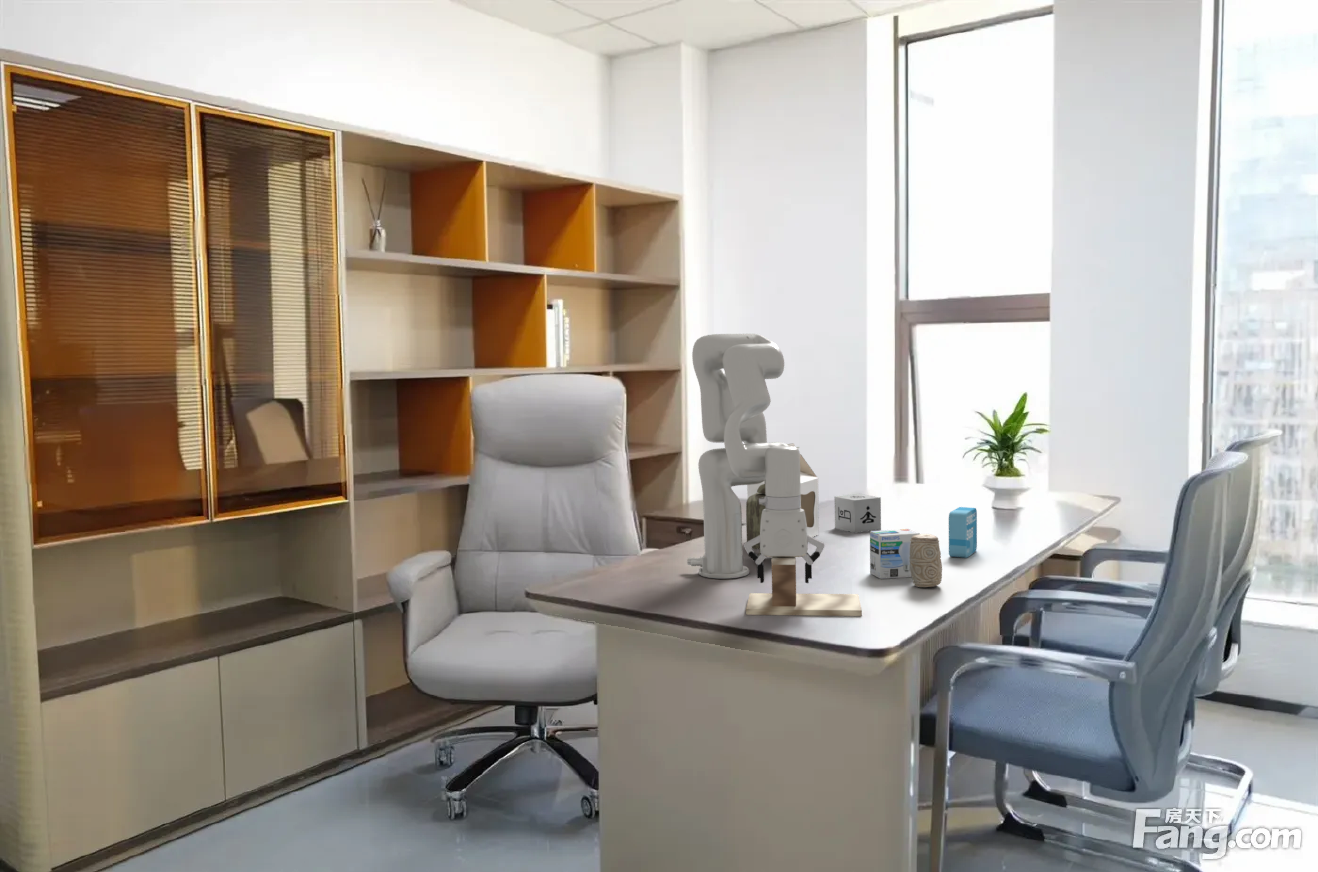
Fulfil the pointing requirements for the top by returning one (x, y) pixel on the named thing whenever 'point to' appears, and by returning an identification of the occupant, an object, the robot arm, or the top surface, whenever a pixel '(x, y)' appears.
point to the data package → (962, 532)
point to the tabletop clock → (754, 515)
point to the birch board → (806, 605)
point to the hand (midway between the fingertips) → (784, 581)
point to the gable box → (803, 495)
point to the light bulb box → (890, 553)
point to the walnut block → (783, 581)
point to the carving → (925, 560)
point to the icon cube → (858, 513)
